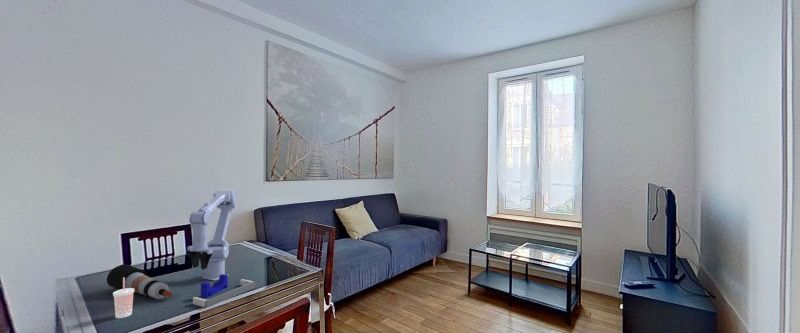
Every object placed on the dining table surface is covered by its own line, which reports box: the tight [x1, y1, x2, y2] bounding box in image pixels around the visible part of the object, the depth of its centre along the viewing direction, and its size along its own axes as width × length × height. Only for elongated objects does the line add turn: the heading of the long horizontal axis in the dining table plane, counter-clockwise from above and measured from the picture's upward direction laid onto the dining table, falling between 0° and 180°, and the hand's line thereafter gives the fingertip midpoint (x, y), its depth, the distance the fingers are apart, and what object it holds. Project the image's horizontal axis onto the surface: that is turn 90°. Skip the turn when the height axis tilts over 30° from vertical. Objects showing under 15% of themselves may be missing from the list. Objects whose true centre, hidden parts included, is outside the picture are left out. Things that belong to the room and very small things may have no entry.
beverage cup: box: [112, 277, 135, 319], centre depth 117 cm, size 6×6×14 cm
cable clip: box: [200, 273, 229, 299], centre depth 138 cm, size 12×4×6 cm, turn 169°
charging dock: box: [192, 279, 257, 309], centre depth 135 cm, size 8×23×2 cm, turn 156°
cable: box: [106, 264, 173, 300], centre depth 136 cm, size 10×34×10 cm, turn 66°
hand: (199, 268), depth 142 cm, fingers open, 5 cm apart
